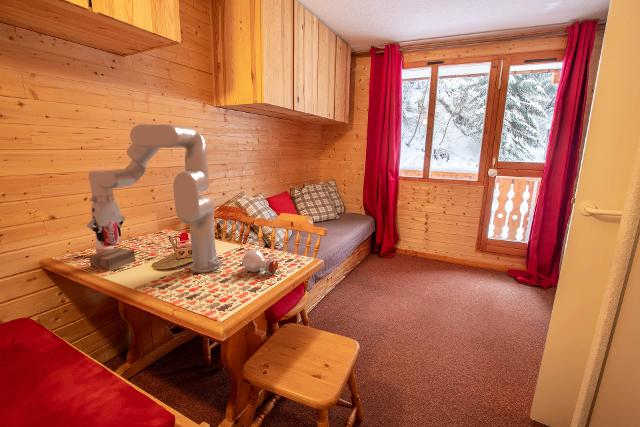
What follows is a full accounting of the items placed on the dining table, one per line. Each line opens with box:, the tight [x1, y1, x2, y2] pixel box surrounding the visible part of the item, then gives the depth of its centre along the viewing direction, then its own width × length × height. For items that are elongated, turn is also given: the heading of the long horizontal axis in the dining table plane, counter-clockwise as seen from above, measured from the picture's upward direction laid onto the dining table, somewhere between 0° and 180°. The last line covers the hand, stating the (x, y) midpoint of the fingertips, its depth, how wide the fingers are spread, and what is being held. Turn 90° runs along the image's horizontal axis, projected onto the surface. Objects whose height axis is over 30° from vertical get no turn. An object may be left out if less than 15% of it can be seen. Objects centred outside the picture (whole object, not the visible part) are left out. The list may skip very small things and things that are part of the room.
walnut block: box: [88, 247, 136, 272], centre depth 134 cm, size 12×12×5 cm
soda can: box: [98, 221, 120, 247], centre depth 132 cm, size 7×7×12 cm
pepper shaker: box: [93, 225, 115, 254], centre depth 146 cm, size 7×7×19 cm
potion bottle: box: [241, 249, 279, 275], centre depth 125 cm, size 9×10×15 cm
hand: (109, 238), depth 132 cm, fingers closed on soda can, 6 cm apart
